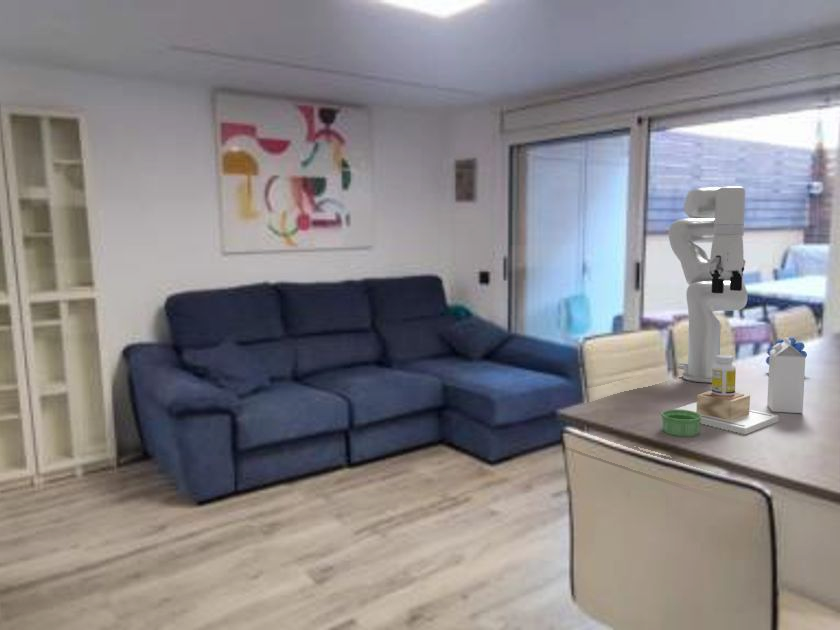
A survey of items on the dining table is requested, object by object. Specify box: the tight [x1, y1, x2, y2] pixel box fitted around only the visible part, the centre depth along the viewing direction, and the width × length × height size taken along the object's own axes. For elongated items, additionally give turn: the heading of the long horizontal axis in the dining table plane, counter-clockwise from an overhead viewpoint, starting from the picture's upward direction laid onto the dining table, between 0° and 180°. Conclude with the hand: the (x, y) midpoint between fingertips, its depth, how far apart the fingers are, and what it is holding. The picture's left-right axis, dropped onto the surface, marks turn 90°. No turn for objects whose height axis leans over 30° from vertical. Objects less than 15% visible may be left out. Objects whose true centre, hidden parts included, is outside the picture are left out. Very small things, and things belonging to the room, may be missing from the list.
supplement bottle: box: [711, 354, 737, 396], centre depth 162 cm, size 5×5×10 cm
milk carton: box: [767, 336, 806, 414], centre depth 169 cm, size 7×7×19 cm
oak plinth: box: [696, 389, 751, 420], centre depth 163 cm, size 9×9×5 cm
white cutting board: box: [675, 401, 779, 435], centre depth 163 cm, size 20×16×2 cm
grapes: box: [765, 337, 808, 366], centre depth 211 cm, size 12×7×12 cm, turn 60°
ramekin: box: [660, 408, 702, 437], centre depth 154 cm, size 9×9×4 cm
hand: (726, 291), depth 182 cm, fingers open, 9 cm apart
